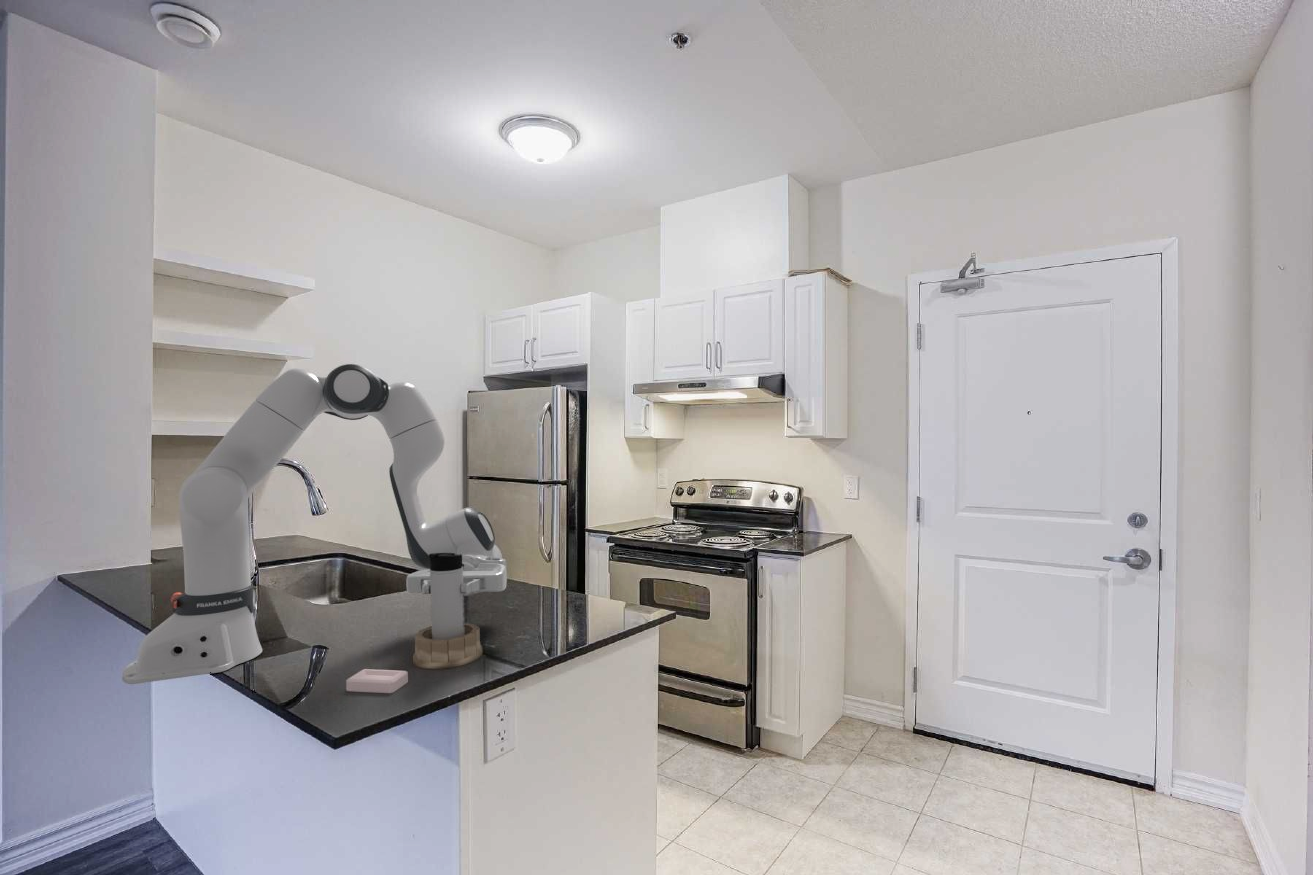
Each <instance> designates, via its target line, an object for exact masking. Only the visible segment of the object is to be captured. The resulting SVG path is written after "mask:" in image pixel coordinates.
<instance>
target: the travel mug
mask: <svg viewBox="0 0 1313 875" xmlns="http://www.w3.org/2000/svg"><path fill="white" fill-rule="evenodd" d="M429 558H430V565H431V566H430V572H431V573H430V589H431V593H430V612H431V613H430V615H431V616H430V618H431V619H430V620H431V626H432V639H433V640H441V639H451V638H456V637H461V636H464V635H465V628H464V623H465V603H464V602H465V601H464V600H465V596H464V594H462V593H461V590H462V589H461V585H462V584H463V570H462V569H463V566H462V554H460V555H455V553H432V554H429Z"/></svg>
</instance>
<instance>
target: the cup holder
mask: <svg viewBox="0 0 1313 875" xmlns="http://www.w3.org/2000/svg"><path fill="white" fill-rule="evenodd" d="M464 628H465V635H464V636H461V637H456V638H451V639H441V640H433V639H432V625H431V626H427V627H425V628H422V629H420V630H418V632H417V633H416V634H414V651H415V652H414V653H413V654H412V663H413V665H414V666H416V667H419V668H421V669H428V670H440V669H441V670H444V669H451V668H457V667H462V666H465V665H468V664H471V663H473V662H475V661H477V660H478V659H480V658H481V657H482V655H483V646H482V645H481V641H480V640H481V639H480V638H481V637H480V636H481V634H480V627H479V626H478V625H476V624H475V623H472V622H471V623H470V622H464Z"/></svg>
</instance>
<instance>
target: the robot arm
mask: <svg viewBox="0 0 1313 875" xmlns="http://www.w3.org/2000/svg"><path fill="white" fill-rule="evenodd" d="M321 414H327V415H330V416H334V417H338V418H340V419H343V420H349V421H357V420H362V419H365V418H367V417H369V416H371V417H373V418H375V419H376V420H377V421H378V422H379V423H380V424H381V425H382V427H383V429H384V430H385V433H386V435H387V436H388V439H389V441H390V444H391V447H392V450H393V452H392V453H393V459H392V461H393V462H392V464H390V466H389V473H388V474H389V478H390V484H391V488H392V491H393V492H392V493H393V496H394V500H395V502H396V505H397V509H398V512H399V515H400V519H401V521H402V525H403V529H404V533H405V537H406V545H407V549H408V553H409V557H410V559H411V561H412V562H413V563H414V564H415V565H417V566H418V567H421V568H423V569H419V570H416V571H415V572H412V573H410V574H408V575H407V576H406V581H405V582H406V591H407V592H408V593H409V594H419V593H420V594H422V595H431V589H430V573H431V572H430V566H431V565H430V558H429V554H432V553H455V555H460V554H462V566H463V569H462V570H463V584H462V585H461V589H462V590H461V593H462V594H464V597H466V596H473V595H474V594H479V593H483V592H485V593H489V592H491V593H492V592H493V593H494V592H499V593H500V592H503V591H504V590H505V589H506V588H507V583H508V582H507V580H508V570H507V569H508V568H507V561H506V559H505V558H503V555H502V552H501V550H500V549H499V547H498V546H497V545H496V544H495V542H496V537H495V532H494V530H493V527H492V524H491V523H490V521H489V518H487V516H486V515H485V514H484V513H482V512H481V511H479V510H477V509H475V508H473V507H470V506H469V507H465V508H463V509H460V510H457V511H455V512H452V513H451V514H448V516H445V517H442V518H441V519H438V520H436V521H434V522H432V523H428V522H427V521H426V518H425V515H424V511H423V509H422V504H421V501H420V499H419V495H418V484H419V481H420V480H421V478H422V477H423V476H424V475H425V473H427V471H429V469H431V467H432V466H433V465H435V463H436V462H437V461H438V460H439V458H440V456H441V455H442V453H443V451H444V447H445V437H444V434H443V431H442V428H441V426H440V424H439V422H438V420H437V417H436V415H435V414H434V411H433V410H432V409H431V407H430V405H429V404H428V402H427V400H426V399H425V397H424V396H423V395H422V393H421V391H420V390H419V389H418V388H417V386H415V385H414V384H412V383H410V382H404V381H403V382H395V383H392V384H388V382H387V381H385V380H384V379H382V377H380V376H378V375H377V374H375V373H374V371H371V370H370V369H368V368H367V367H364V366H362V365H360V364H354V363H348V364H347V363H346V364H341V365H338V366H337V367H335V368H333V370H331V371H330V372H329V373H328V375H327V376H326V377H320V376H317V375H316V374H314V373H312V372H311V371H308V370H306V369H301V368H291V369H288V370H286V371H285V372H284V373H282V374H281V375H280V376H278V377H277V378H276V379H275V380H274V381H272V382H271V383H270V384H269V385H267V387H266V388H265V389H264V390H263V391H262V392H261V393H260V394H259V395H258V396H257V397H256V398H255V400H254V401H253V402H252V403H251V404H250V405H249V407H247V409H246V410H245V411H244V413H243V414H242V415H241V416H240V417H239V418H238V420H237V421H236V422H235V423H234V424H233V425H232V427H231V428H230V429H229V430H228V431H227V432H226V434H225V435H224V436H223V438H221V440H220V441H219V442H218V443H217V444H216V446H215V447H214V448H213V449H212V451H210V453H209V454H208V455H207V457H206V458H205V459H204V460H203V461H202V462H201V464H200V465H199V466H198V467H197V468H196V470H195V471H194V472H193V473H192V474H191V475H189V476H188V477H187V478H186V479H185V480H184V481H183V483H182V484H181V487H180V489H179V491H178V492H179V493H178V505H179V506H178V507H179V519H180V520H179V522H180V530H181V531H180V532H181V540H182V541H181V543H182V550H183V551H182V552H183V570H184V571H183V573H184V574H183V578H184V592H183V593H182V592H179V591H178V592H175V593H173V595H172V596H171V598H170V602H171V603H172V604H171V605H172V613H173V614H172V615H170V616H169V617H168V618H167V619H165V620H164V621H163V622H161V623H159V625H158V626H156V627H155V628H154V629H152V630H151V631H150V632H149V633H148V634H146V636H145V637H143V639H142V640H141V641H140V642H141V643H140V644H139V647H138V650H137V656H136V660H134V661H132V662H131V663H129V664H128V665H127V666H126V667H125V668H124V670H123V671H122V678H121V679H122V682H124V683H125V684H128V685H137V684H144V683H145V684H146V683H151V682H152V683H153V682H159V681H166V680H172V679H175V680H176V679H181V678H186V677H187V678H188V677H194V676H202V675H209V674H216V673H222V672H226V671H227V670H230V669H231V668H234V667H235V666H237V665H239V664H242V663H245V662H248V661H250V660H252V659H255V658H256V657H258V656H259V655H261V653H263V647H262V645H261V643H260V640H259V636H258V632H257V629H256V624H255V618H254V611H255V607H256V605H255V604H256V603H255V602H256V601H255V589H254V585H253V583H252V580H251V579H252V578H251V553H250V551H251V550H250V547H251V545H250V530H249V529H250V528H249V501H248V500H249V498H250V496H251V495H252V494H253V493H254V492H255V491H256V489H257V488H258V487H259V486H260V484H261V483H262V482H263V481H264V480H265V479H266V478H267V477H268V475H269V474H270V473H271V472H272V471H273V470H274V469H275V468H276V467H277V465H278V464H279V463H281V462H280V461H281V460H282V459H283V458H284V456H286V454H287V453H288V452H289V450H291V448H292V447H293V446H294V444H295V443H296V442H297V441H298V439H299V438H300V437H301V436H302V435H303V433H305V431H306V430H307V428H308V427H309V425H310V424H311V423H312V422H313V421H315V419H316V418H317V417H318V416H319V415H321ZM210 672H211V673H210Z"/></svg>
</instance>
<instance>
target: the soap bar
mask: <svg viewBox="0 0 1313 875" xmlns="http://www.w3.org/2000/svg"><path fill="white" fill-rule="evenodd" d="M408 673H409V672H408V671H407V670H392V669H369V668H364V669H362V670H360V671H358V672H357V673H355V674H354V675H351V677H349V678H347V679H346V680H345V681H346V682H345V683H346V684H345V686H346V687H345V688H346V691H347V692H356V693H357V692H360V693H362V692H363V693H381V694H392V693H395V692H397V691H398V690H399V689H401V688H402V687H403V686H405V685H406V684H407V683H409V674H408Z"/></svg>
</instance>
